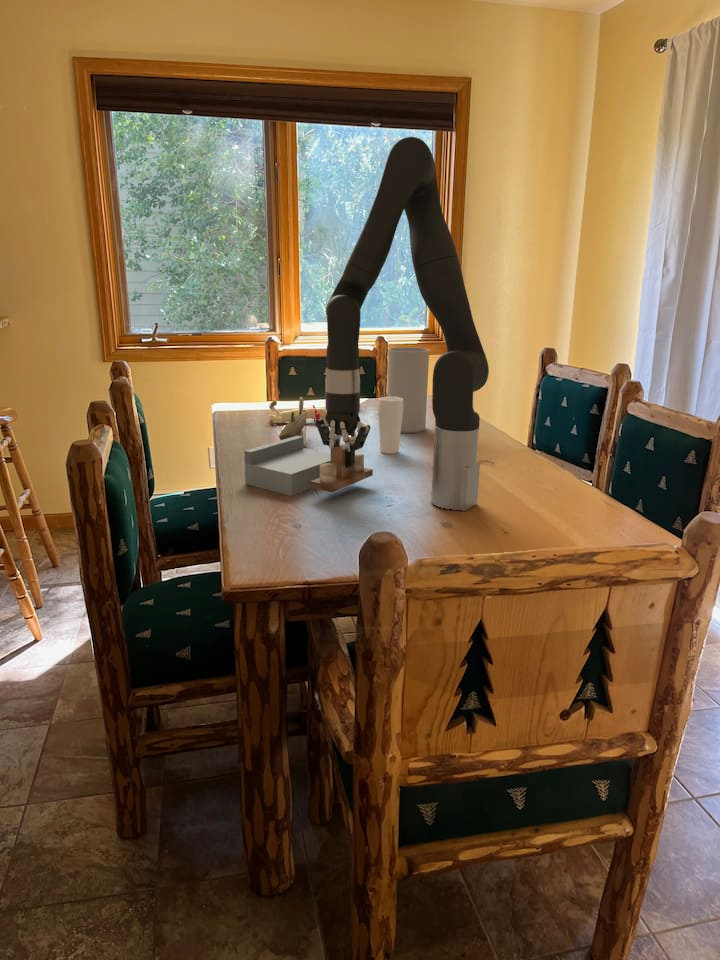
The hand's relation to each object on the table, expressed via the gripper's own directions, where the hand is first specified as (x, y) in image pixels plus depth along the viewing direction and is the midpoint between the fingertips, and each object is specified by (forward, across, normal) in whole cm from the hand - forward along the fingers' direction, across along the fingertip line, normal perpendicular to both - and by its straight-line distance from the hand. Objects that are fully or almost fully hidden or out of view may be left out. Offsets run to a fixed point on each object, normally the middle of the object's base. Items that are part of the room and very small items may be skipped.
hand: (342, 465), depth 154 cm
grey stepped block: (+6, +14, -1) cm, 16 cm away
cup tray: (+4, 0, 0) cm, 4 cm away
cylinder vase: (+6, +20, -64) cm, 67 cm away
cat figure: (+6, +50, -52) cm, 72 cm away
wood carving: (+6, +34, -25) cm, 43 cm away
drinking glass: (+6, +10, -37) cm, 38 cm away
